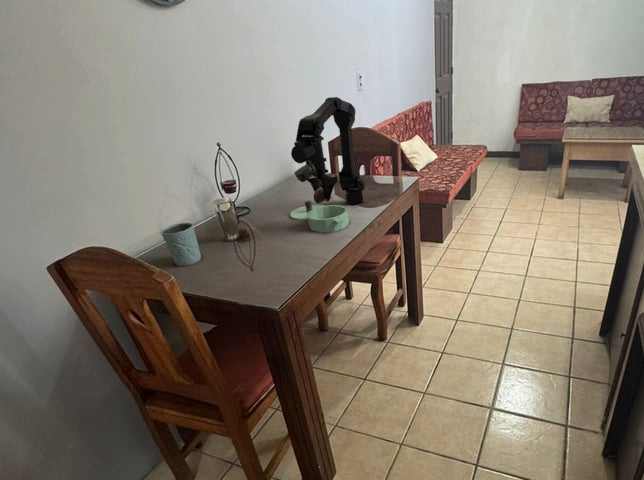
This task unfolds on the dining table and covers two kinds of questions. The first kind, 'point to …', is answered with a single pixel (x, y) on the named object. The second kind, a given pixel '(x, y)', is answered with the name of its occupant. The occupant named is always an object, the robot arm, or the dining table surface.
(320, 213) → the pot
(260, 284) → the dining table surface
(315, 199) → the mushroom
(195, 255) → the embossed blue planter
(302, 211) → the lid
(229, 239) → the beer glass
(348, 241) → the dining table surface
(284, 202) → the dining table surface
